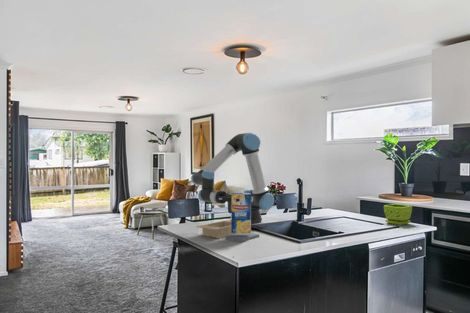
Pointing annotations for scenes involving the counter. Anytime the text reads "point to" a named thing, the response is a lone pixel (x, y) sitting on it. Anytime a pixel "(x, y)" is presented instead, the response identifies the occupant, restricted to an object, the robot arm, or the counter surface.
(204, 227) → the wooden tray
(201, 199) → the robot arm
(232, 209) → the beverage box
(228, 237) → the mat
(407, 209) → the flower pot
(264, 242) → the counter surface
